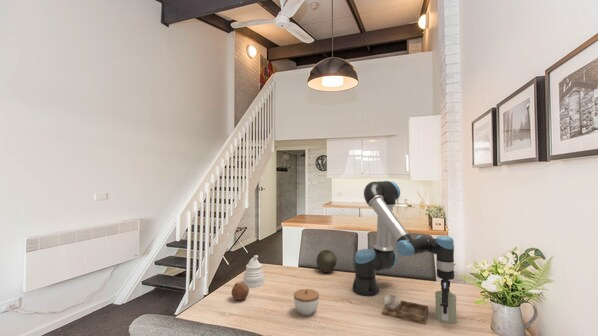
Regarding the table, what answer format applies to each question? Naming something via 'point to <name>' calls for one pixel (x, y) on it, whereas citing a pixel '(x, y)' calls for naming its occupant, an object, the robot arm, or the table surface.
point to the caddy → (404, 310)
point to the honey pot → (254, 273)
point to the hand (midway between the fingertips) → (445, 313)
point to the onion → (240, 291)
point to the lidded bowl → (306, 301)
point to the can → (450, 307)
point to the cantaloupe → (326, 260)
